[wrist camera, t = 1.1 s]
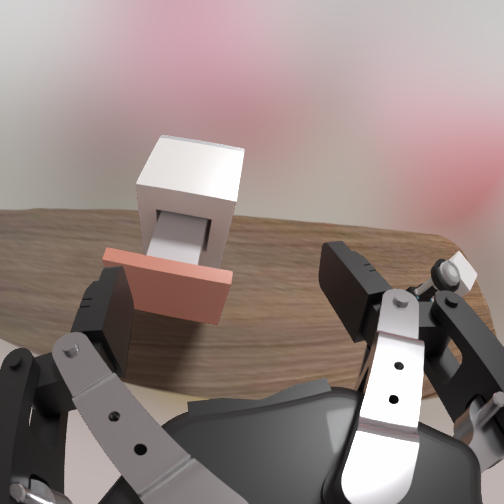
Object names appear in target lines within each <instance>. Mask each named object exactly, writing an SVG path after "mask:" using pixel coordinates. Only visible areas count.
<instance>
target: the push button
mask: <svg viewBox="0 0 504 504" xmlns="http://www.w3.org/2000/svg"><path fill="white" fill-rule="evenodd" d="M459 286H460V273H459V270H458V268H457V267H456V265H455V264H454V263H453V262H451V261H447V260H444V259H439V260H437V261H436V262H435V265H434V266H433V267H432V269H431V278H430V279H428V280H427V281H426V282H425V283H424V284H420V285H419V286H418V287H409V288H408V289H407V290H405V291H407V292H409V293H411V294H412V295H413V296H415V298H416V299H417V300H418V302H433V301H434V299H433V297H434V296H435V295H436V294H437V293H438V292H440V291H451V292H455V291H457V290H458V288H459ZM432 300H433V301H432Z"/></svg>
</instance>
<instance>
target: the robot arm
mask: <svg viewBox="0 0 504 504" xmlns="http://www.w3.org/2000/svg"><path fill="white" fill-rule="evenodd" d="M319 284H320V287H321V289H322V291H323V292H324V294H325V295H326V297H327V299H328V300H329V302H330V304H331V305H332V307H333V308H334V310H335V312H336V313H337V315H338V317H339V318H340V320H341V321H342V323H343V325H344V326H345V328H346V330H347V331H348V333H349V335H350V336H351V338H352V340H353V341H354V343H356V342H360V341H363V340H365V341H366V342H367V345H366V348H365V352H364V356H363V360H362V364H361V367H360V371H359V375H358V379H357V382H356V385H355V388H354V390H352V389H349V388H343V387H330V386H329V383H328V381H327V379H326V378H323V379H319V380H315V381H311V382H307V383H302V384H298V385H294V386H292V387H289V388H287V389H285V390H283V391H281V392H278V393H276V394H274V395H272V396H269V397H267V398H265V399H262V400H246V399H230V398H218V399H210V400H201V401H192V402H187V403H188V412H186V413H183V414H181V415H178V416H176V417H174V418H173V419H171V420H169V421H168V422H166V423H165V424H164V425H162V426H160V425H159V424H158V423H157V422H156V421H155V420H154V419H153V418H152V417H151V415H150V414H149V413H148V412H147V411H146V410H145V409H144V408H143V406H142V405H141V404H140V403H139V402H138V401H137V399H136V398H135V397H134V396H133V395H132V394H131V392H130V391H129V390H128V389H127V387H126V386H125V385H124V384H123V382H122V381H121V380H120V379H119V377H125V375H126V366H127V358H128V350H129V342H130V335H131V328H132V322H133V315H134V302H133V297H132V294H131V290H130V287H129V284H128V280H127V277H126V274H125V270H124V268H123V266H114V267H105V268H104V269H103V271H102V273H101V276H100V279H99V281H94V282H93V283H92V284H91V285H90V286H89V287H88V288H87V289H86V291H85V293H84V296H83V298H82V301H81V304H80V308H79V309H78V312H77V314H76V317H75V320H74V323H73V326H72V329H71V332H70V333H68V334H66V335H64V336H62V337H61V338H60V339H58V340H57V342H56V343H55V344H54V346H53V349H52V352H51V353H48V354H44V355H41V356H38V357H35V358H34V356H33V355H32V353H31V352H30V351H29V350H28V349H26V348H18V349H15V350H13V351H12V352H10V353H9V354H8V355H7V356H6V358H5V359H4V361H3V363H2V366H1V369H0V504H72V502H71V501H70V500H69V499H68V497H67V496H65V495H64V462H65V443H66V429H67V420H68V411H71V410H75V409H77V410H78V411H79V413H80V415H81V417H82V418H83V420H84V421H85V423H86V425H87V426H88V428H89V429H90V431H91V433H92V434H93V435H94V437H95V439H96V440H97V441H98V443H99V444H100V446H101V447H102V449H103V450H104V452H105V453H106V454H107V456H108V457H109V459H110V460H111V461H112V463H113V464H114V465H115V467H116V468H117V469H118V471H119V472H120V473H121V474H122V475H121V476H120V478H119V479H118V480H117V481H116V482H115V484H114V485H113V486H112V487H111V488H110V490H109V491H108V492H107V493H106V495H105V496H104V497H103V498H102V499H101V501H100V502H99V503H98V504H483V503H482V496H481V473H482V472H483V471H485V470H486V469H489V468H491V467H493V466H494V465H496V464H497V463H499V462H500V461H501V460H503V459H504V347H503V346H502V344H501V343H500V342H499V341H498V339H497V338H496V337H495V336H494V334H493V333H492V332H491V331H490V329H489V328H488V327H487V326H486V325H485V323H484V322H483V321H482V320H481V319H480V318H479V316H478V315H477V314H476V313H475V312H474V311H473V309H472V308H471V307H470V306H469V305H468V304H467V303H466V302H465V301H464V299H463V298H462V297H461V296H459V295H458V294H456V293H454V292H451V291H440V292H438V293H437V294H436V296H435V299H434V301H433V302H418V300H417V299H416V298H415V296H413V295H412V294H411V293H409V292H407V291H405V290H401V289H393V288H392V287H391V286H390V285H389V284H388V283H387V281H386V280H385V279H384V278H383V277H382V276H381V275H380V274H379V273H378V271H376V269H375V268H374V267H373V266H372V265H370V263H369V262H368V261H367V259H366V258H365V257H364V256H362V255H360V254H358V253H357V252H355V251H351V250H350V249H349V248H348V247H347V246H346V245H345V244H344V242H342V241H334V242H326V243H324V244H323V246H322V251H321V259H320V267H319ZM451 339H452V340H453V341H454V343H455V344H456V345H457V347H458V348H459V350H460V351H461V353H462V363H461V365H460V364H459V363H458V361H457V360H456V358H455V357H454V355H453V354H452V352H451V351H450V350H449V348H448V347H447V345H448V343H449V342H450V340H451ZM423 371H424V372H425V374H426V375H427V377H428V379H429V380H430V382H431V384H432V386H433V387H434V389H435V391H436V392H437V394H438V396H439V398H440V399H441V401H442V403H443V405H444V406H445V408H446V410H447V412H448V414H449V415H450V417H451V419H452V421H453V423H454V436H453V437H451V436H449V435H447V434H445V433H443V432H440V431H438V430H436V429H434V428H432V427H429V426H427V425H425V424H423V423H421V422H419V421H418V418H419V410H420V402H421V393H422V382H423ZM31 407H32V408H33V409H32V415H31V421H30V427H29V418H30V413H31Z"/></svg>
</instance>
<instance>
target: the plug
mask: <svg viewBox="0 0 504 504" xmlns="http://www.w3.org/2000/svg"><path fill="white" fill-rule="evenodd" d="M207 220H208V219H207V218H202V217H197V216H191V215H186V214H180V213H174V212H169V211H163V210H161V213H160V216H159V219H158V222H157V225H156V228H155V231H154V234H153V237H152V240H151V243H150V246H149V249H148V252H147V255H143V254H137V253H132V252H127V251H122V250H118V249H113V248H108V247H107V248H106V251H105V253H104V256H103V258H102V260H103V263H104V265H105V267H114V266H123V268H124V270H125V274H126V277H127V280H128V284H129V287H130V290H131V294H132V297H133V302H134V309H137V310H141V311H146V312H151V313H155V314H160V315H165V316H170V317H175V318H181V319H186V320H191V321H197V322H203V323H208V324H214V325H218V322H219V319H220V316H221V313H222V310H223V307H224V304H225V301H226V298H227V295H228V292H229V289H230V286H231V281H232V273H233V271H228V270H222V269H216V268H211V267H206V266H200V260H201V255H202V250H203V245H204V240H205V234H206V227H207Z"/></svg>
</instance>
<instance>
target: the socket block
mask: <svg viewBox="0 0 504 504" xmlns="http://www.w3.org/2000/svg"><path fill="white" fill-rule="evenodd" d="M244 151H245V149H242V148H237V147H232V146H227V145H222V144H217V143H210V142H205V141H199V140H193V139H187V138H180V137H174V136H166V135H161V137H160V139H159V140H158V142H157V144H156V146H155V148H154V149H153V151H152V153H151V155H150V157H149V159H148V161H147V163H146V165H145V167H144V169H143V170H142V172H141V175H140V176H139V178H138V180H137V182H136V191H137V200H138V209H139V217H140V225H141V233H142V240H143V247H144V253H145V255H147V252H148V249H149V246H150V243H151V240H152V237H153V234H154V231H155V228H156V225H157V222H158V219H159V216H160V213H161V210H163V211H169V212H174V213H180V214H186V215H191V216H197V217H202V218H207V219H208V220H207V227H206V234H205V240H204V245H203V250H202V255H201V260H200V266H206V267H211V268H216V269H220V265H221V261H222V257H223V253H224V249H225V245H226V241H227V237H228V233H229V229H230V225H231V221H232V217H233V213H234V209H235V205H236V201H237V194H238V188H239V182H240V176H241V169H242V163H243V157H244Z"/></svg>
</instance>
